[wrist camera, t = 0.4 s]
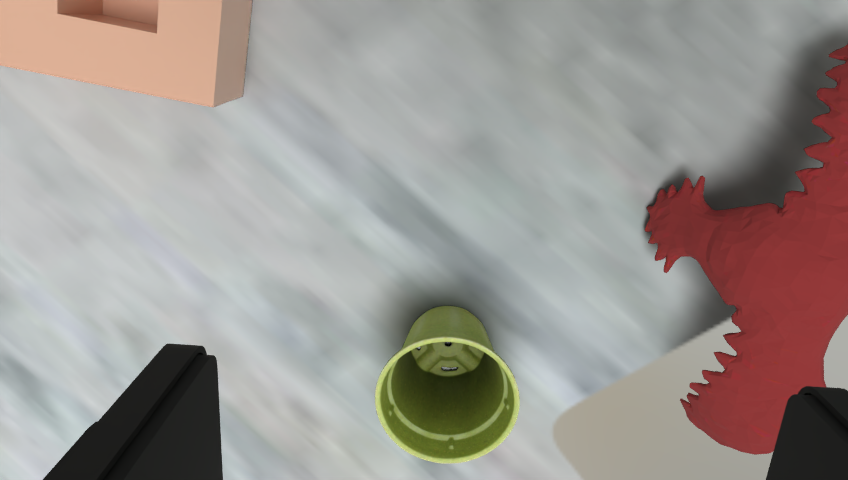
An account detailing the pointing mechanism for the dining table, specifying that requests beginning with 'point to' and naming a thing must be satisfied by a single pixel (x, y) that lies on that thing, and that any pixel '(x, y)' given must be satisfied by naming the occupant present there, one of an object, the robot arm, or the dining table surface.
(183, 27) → the pink planter box
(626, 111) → the dining table surface
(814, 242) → the decorative bird sculpture
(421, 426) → the plant pot
